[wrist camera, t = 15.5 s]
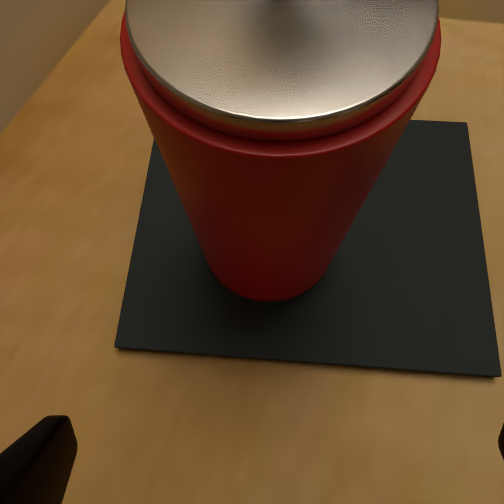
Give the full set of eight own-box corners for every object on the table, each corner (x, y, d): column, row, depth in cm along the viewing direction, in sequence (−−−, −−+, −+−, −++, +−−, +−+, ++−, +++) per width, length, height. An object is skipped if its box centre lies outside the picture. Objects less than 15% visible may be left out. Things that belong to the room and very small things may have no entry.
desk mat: (462, 128, 22) (467, 122, 22) (494, 377, 18) (502, 376, 17) (162, 114, 23) (159, 107, 23) (118, 348, 19) (113, 347, 18)
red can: (349, 211, 20) (493, -71, 8) (303, 326, 18) (396, 194, 6) (237, 168, 21) (203, -141, 9) (182, 272, 19) (38, 62, 7)
